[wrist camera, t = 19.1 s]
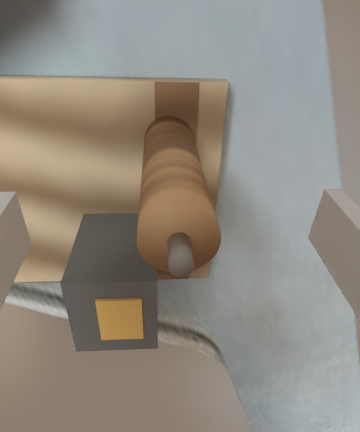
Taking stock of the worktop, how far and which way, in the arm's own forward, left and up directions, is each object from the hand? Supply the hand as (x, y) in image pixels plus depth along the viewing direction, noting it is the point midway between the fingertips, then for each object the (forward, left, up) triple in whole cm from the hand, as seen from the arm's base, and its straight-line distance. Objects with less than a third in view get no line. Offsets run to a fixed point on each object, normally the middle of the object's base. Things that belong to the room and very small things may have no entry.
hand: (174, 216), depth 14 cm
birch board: (+6, -5, -12) cm, 15 cm away
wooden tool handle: (+1, 0, -11) cm, 11 cm away
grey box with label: (+10, -4, -11) cm, 16 cm away
